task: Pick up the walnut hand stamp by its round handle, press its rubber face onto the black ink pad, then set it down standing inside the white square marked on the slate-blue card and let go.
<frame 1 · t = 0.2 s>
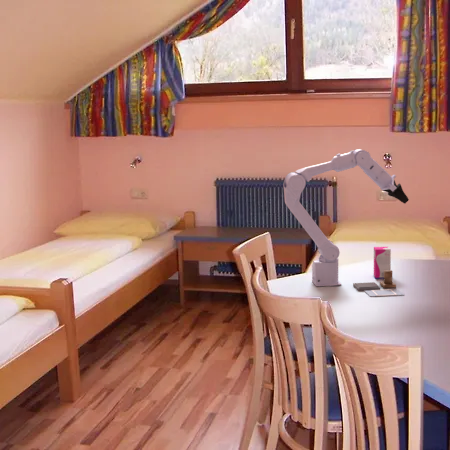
hand: (404, 199, 253), 31 cm above the table, tool tilted 45°, fingers open, 7 cm apart
stamp: (387, 287, 250), on the table
supplement box: (381, 277, 264), on the table
print card: (384, 293, 241), on the table
ink pad: (366, 288, 249), on the table
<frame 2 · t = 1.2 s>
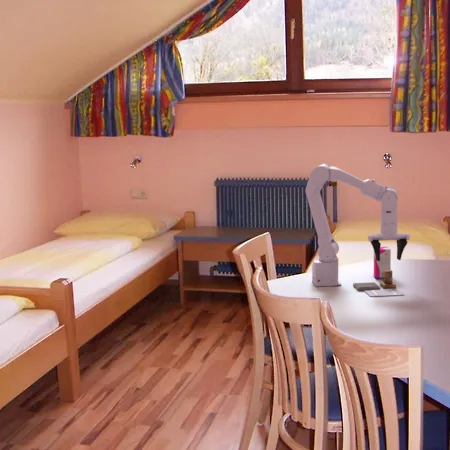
hand: (388, 259, 248), 10 cm above the table, tool pointing down, fingers open, 7 cm apart
nothing on the table moved.
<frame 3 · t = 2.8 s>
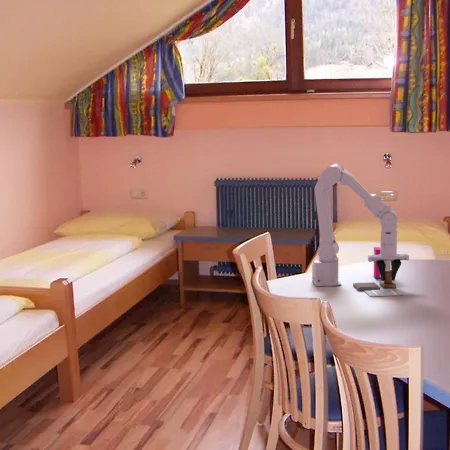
hand: (388, 280, 250), 2 cm above the table, tool pointing down, fingers closed on stamp, 3 cm apart
stamp: (387, 286, 250), on the table, touching gripper
everything else where it was.
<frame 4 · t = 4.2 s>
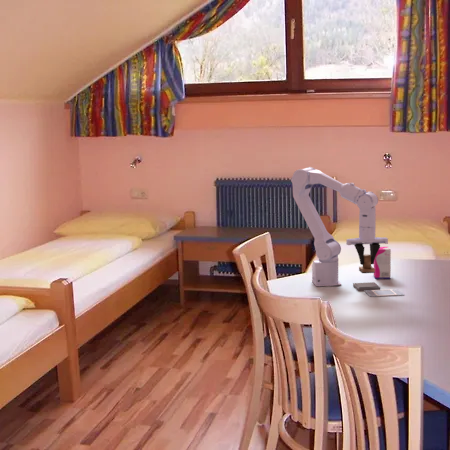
hand: (366, 263, 247), 9 cm above the table, tool pointing down, fingers closed on stamp, 3 cm apart
stamp: (366, 271, 248), point 6 cm above the table, touching gripper
everything else where it was.
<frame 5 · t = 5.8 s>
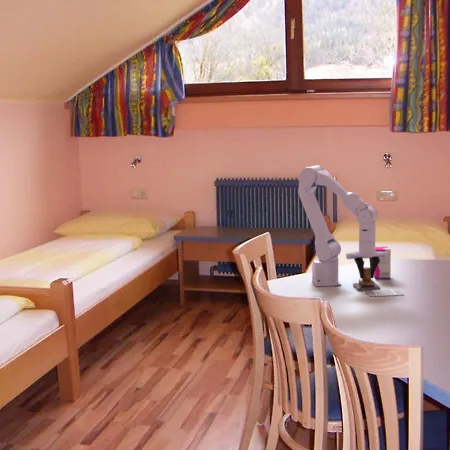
hand: (366, 277, 248), 4 cm above the table, tool pointing down, fingers closed on stamp, 3 cm apart
stamp: (366, 284, 249), point 1 cm above the table, touching gripper
everything else where it was.
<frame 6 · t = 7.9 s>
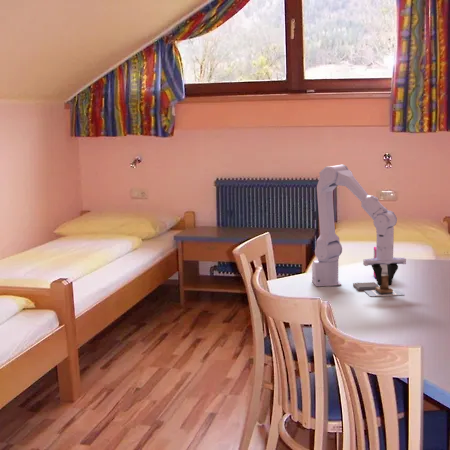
hand: (384, 284, 241), 3 cm above the table, tool pointing down, fingers closed on stamp, 3 cm apart
stamp: (384, 292, 241), resting on print card, touching gripper
everything else where it was.
when the fingers open (3 cm above the table, at t = 9.2 s): stamp stays where it is, resting on print card.
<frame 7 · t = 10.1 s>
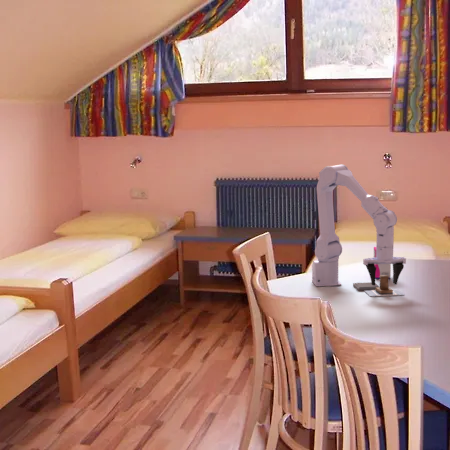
hand: (384, 284, 241), 3 cm above the table, tool pointing down, fingers open, 7 cm apart
stamp: (384, 292, 241), resting on print card
everything else where it was.
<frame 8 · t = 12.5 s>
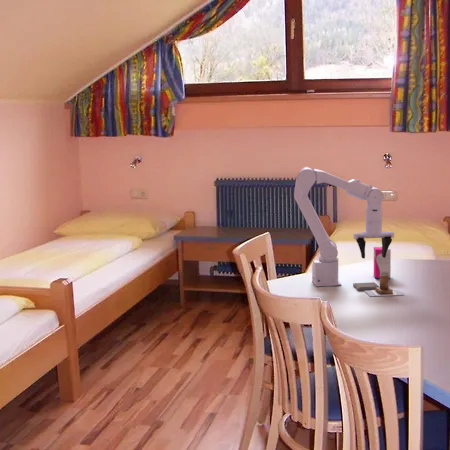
hand: (373, 257, 253), 10 cm above the table, tool pointing down, fingers open, 7 cm apart
nothing on the table moved.
at the end: stamp 0.1 cm off-centre on the print card, point 0.3 cm above the print card's base; stamp tilted 0°; the gripper is holding nothing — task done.
